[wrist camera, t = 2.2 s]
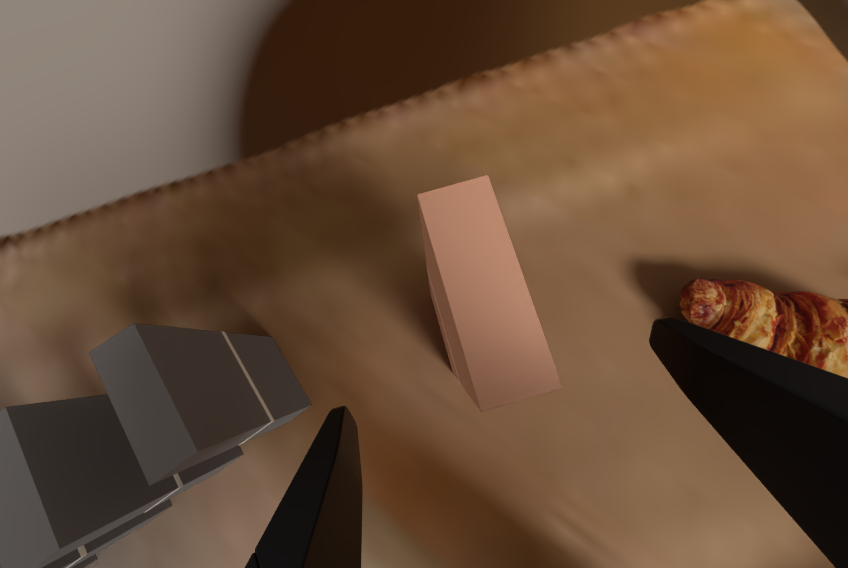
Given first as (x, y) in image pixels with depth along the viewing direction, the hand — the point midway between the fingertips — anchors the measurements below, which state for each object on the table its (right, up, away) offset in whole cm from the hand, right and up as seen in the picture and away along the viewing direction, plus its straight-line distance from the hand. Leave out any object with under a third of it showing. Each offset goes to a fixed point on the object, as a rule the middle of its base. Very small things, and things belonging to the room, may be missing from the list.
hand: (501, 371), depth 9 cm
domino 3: (0, 0, +12) cm, 12 cm away
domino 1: (-16, -6, +11) cm, 20 cm away
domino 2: (-11, -4, +12) cm, 17 cm away
